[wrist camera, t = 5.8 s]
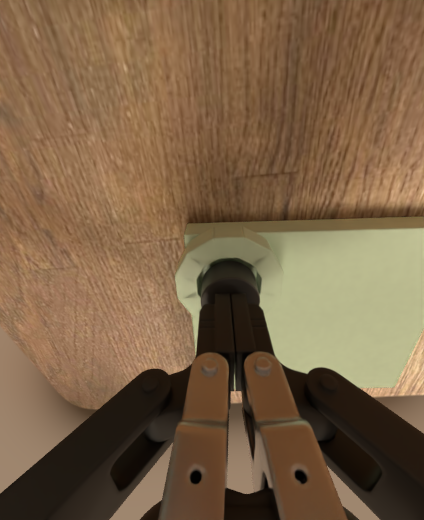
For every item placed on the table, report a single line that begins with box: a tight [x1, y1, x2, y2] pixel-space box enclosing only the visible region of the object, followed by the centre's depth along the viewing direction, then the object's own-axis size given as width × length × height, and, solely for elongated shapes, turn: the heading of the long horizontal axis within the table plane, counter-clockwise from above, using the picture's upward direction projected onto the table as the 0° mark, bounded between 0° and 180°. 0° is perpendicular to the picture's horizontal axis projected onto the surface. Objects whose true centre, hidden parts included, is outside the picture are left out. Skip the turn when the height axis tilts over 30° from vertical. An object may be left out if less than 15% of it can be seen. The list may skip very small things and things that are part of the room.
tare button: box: [201, 261, 260, 307], centre depth 13 cm, size 3×3×2 cm
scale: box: [175, 216, 424, 389], centre depth 17 cm, size 16×14×4 cm
